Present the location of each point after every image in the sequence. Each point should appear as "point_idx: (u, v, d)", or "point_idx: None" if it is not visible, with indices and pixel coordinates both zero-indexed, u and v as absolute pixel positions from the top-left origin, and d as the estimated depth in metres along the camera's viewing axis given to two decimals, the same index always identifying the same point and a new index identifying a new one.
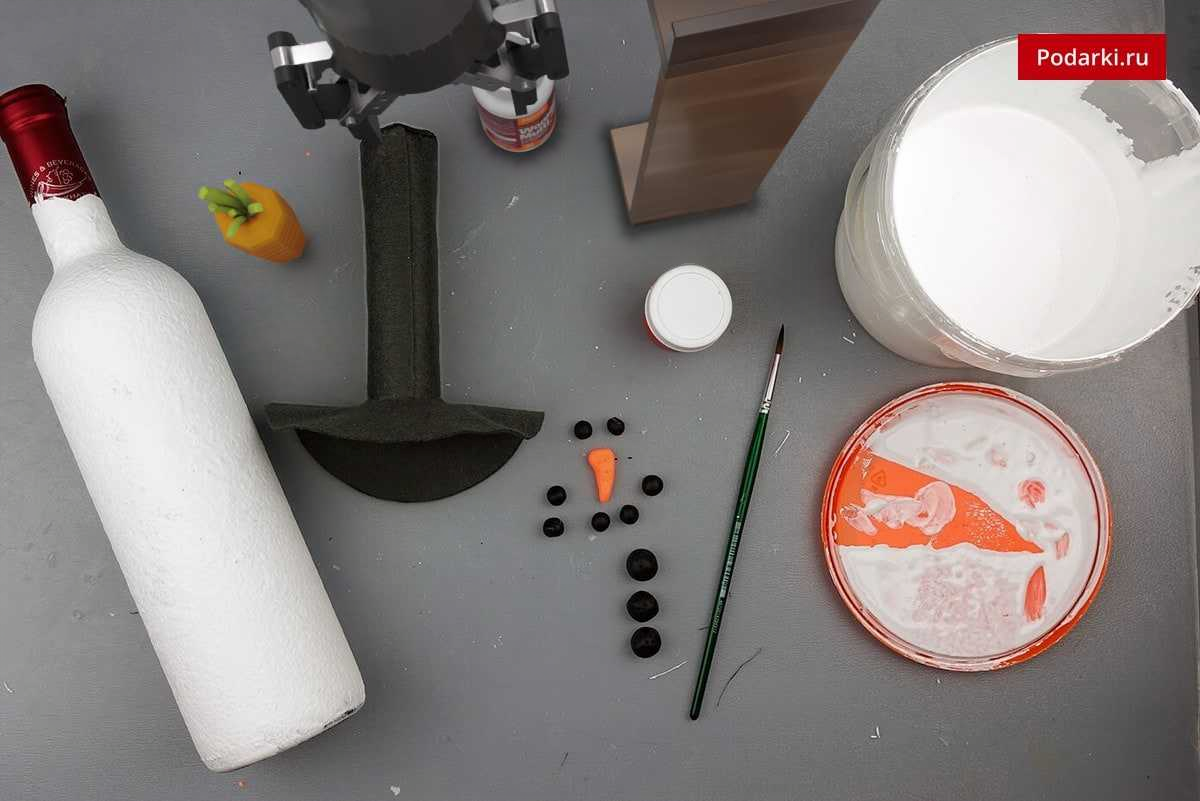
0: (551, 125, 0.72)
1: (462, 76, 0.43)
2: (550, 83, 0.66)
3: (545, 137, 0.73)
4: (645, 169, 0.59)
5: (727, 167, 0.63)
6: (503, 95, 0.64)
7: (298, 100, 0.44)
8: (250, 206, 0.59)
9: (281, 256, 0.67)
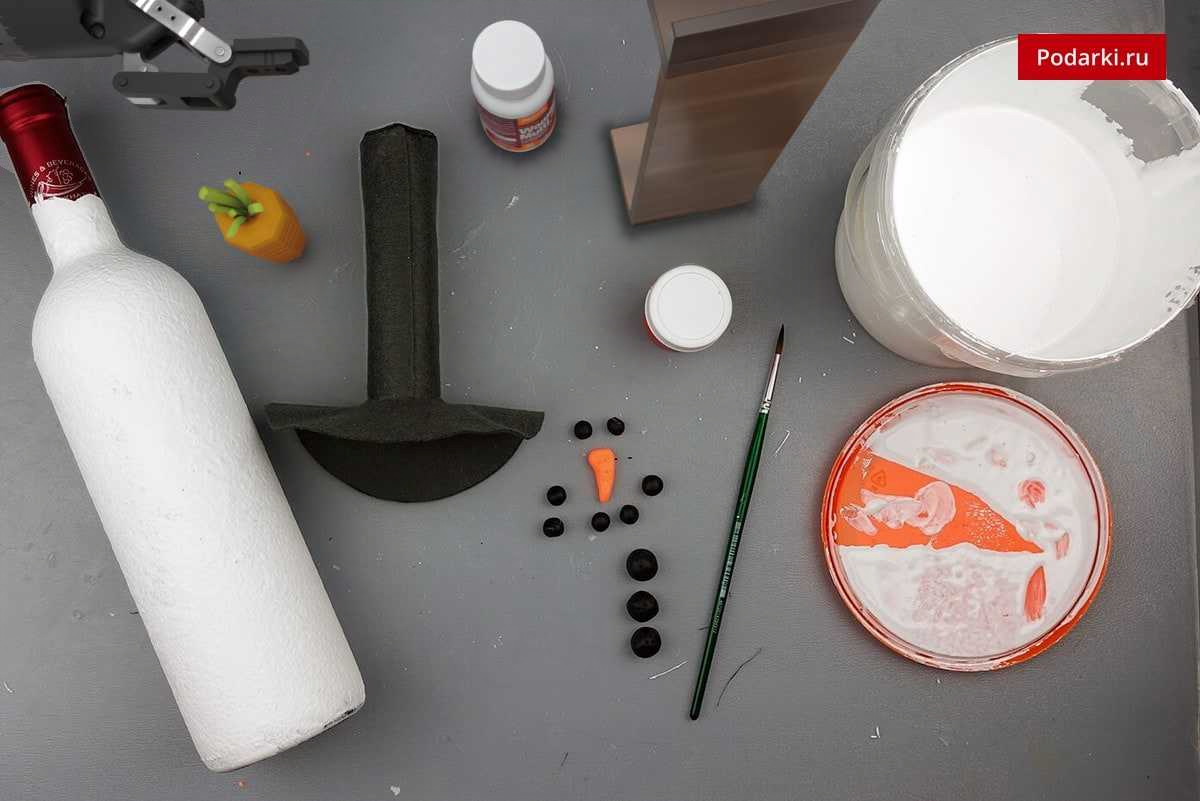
0: (551, 125, 0.72)
1: None
2: (550, 83, 0.66)
3: (545, 137, 0.73)
4: (645, 169, 0.59)
5: (727, 167, 0.63)
6: (503, 95, 0.64)
7: None
8: (250, 206, 0.59)
9: (281, 256, 0.67)
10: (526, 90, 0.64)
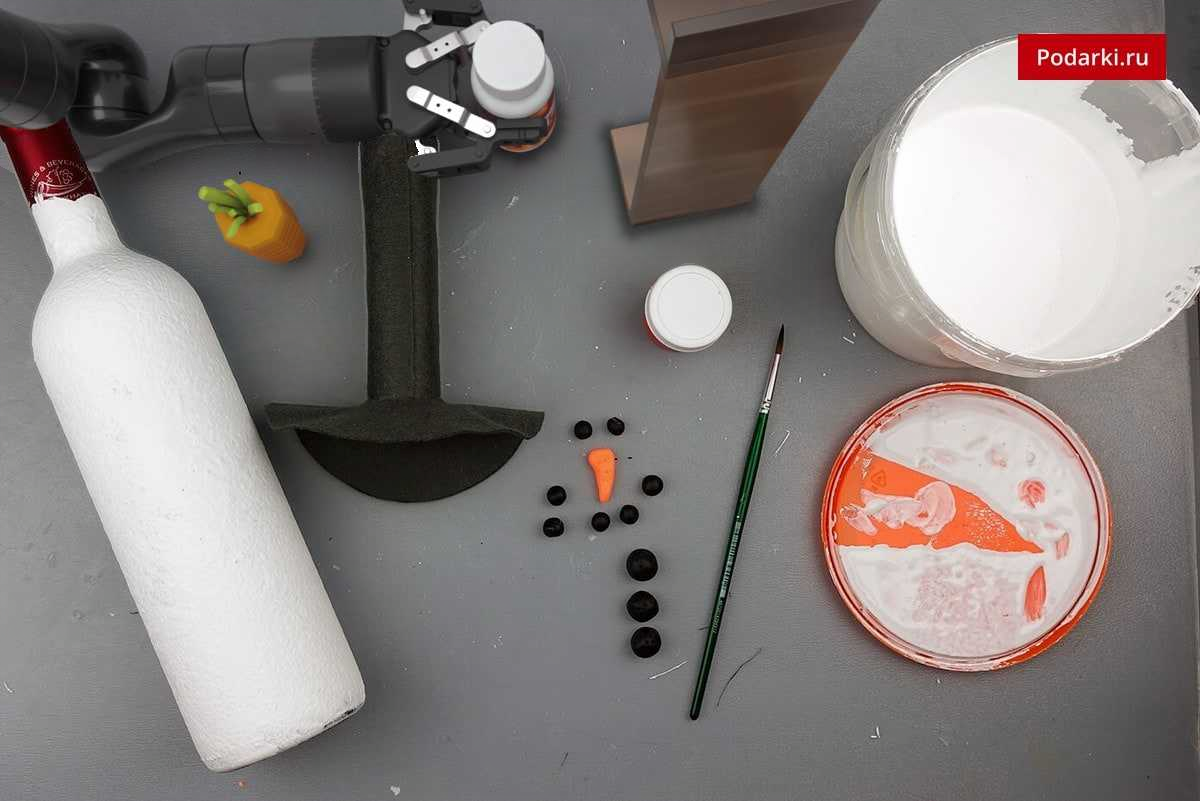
0: (551, 125, 0.72)
1: None
2: (550, 84, 0.66)
3: (545, 137, 0.73)
4: (645, 169, 0.59)
5: (727, 167, 0.63)
6: (503, 95, 0.64)
7: None
8: (250, 206, 0.59)
9: (281, 256, 0.67)
10: (526, 90, 0.64)
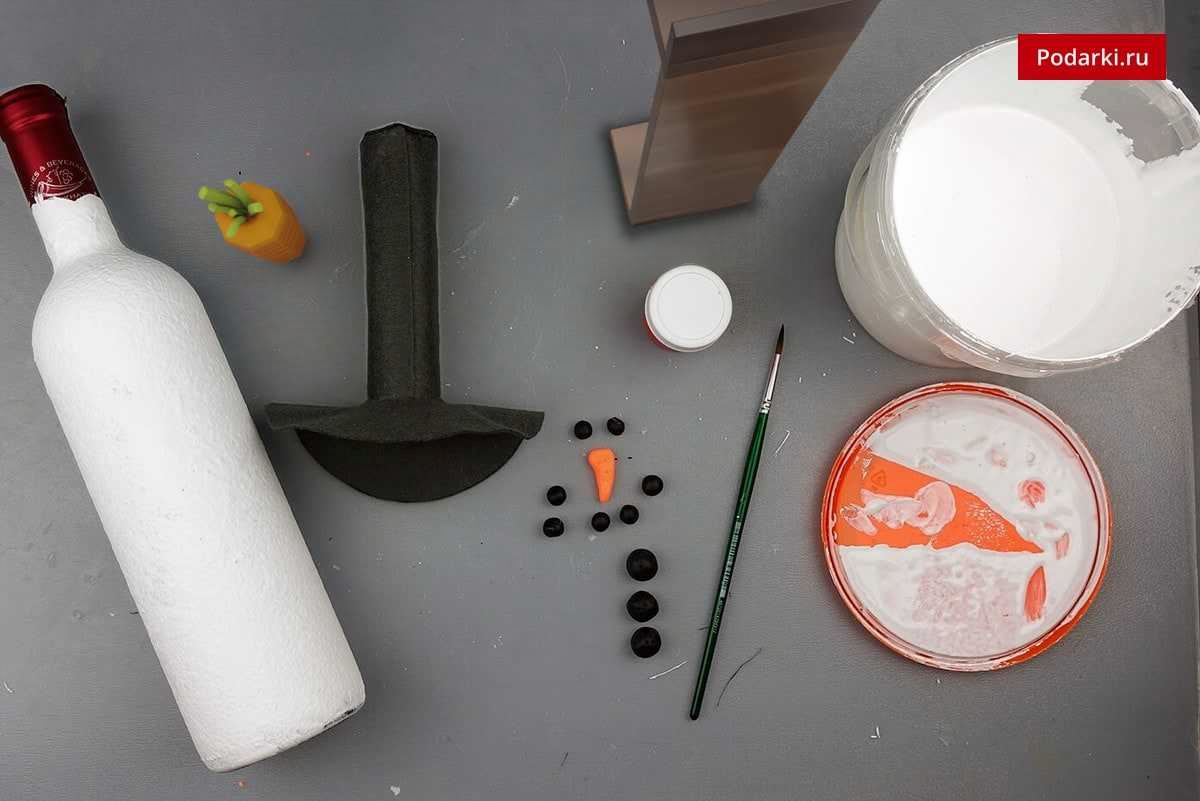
0: None
1: None
2: None
3: None
4: (645, 169, 0.59)
5: (727, 167, 0.63)
6: None
7: None
8: (250, 206, 0.59)
9: (281, 256, 0.67)
10: None
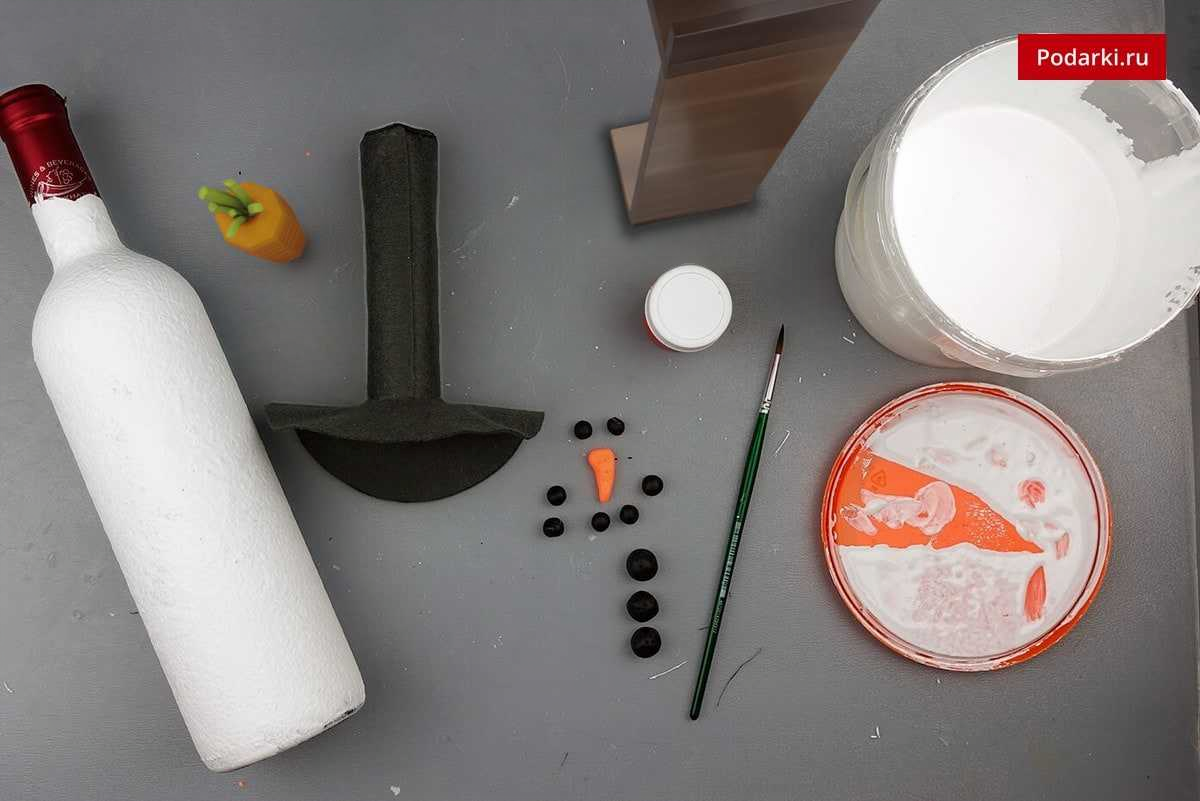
0: None
1: None
2: None
3: None
4: (645, 169, 0.59)
5: (727, 167, 0.63)
6: None
7: None
8: (250, 206, 0.59)
9: (281, 256, 0.67)
10: None
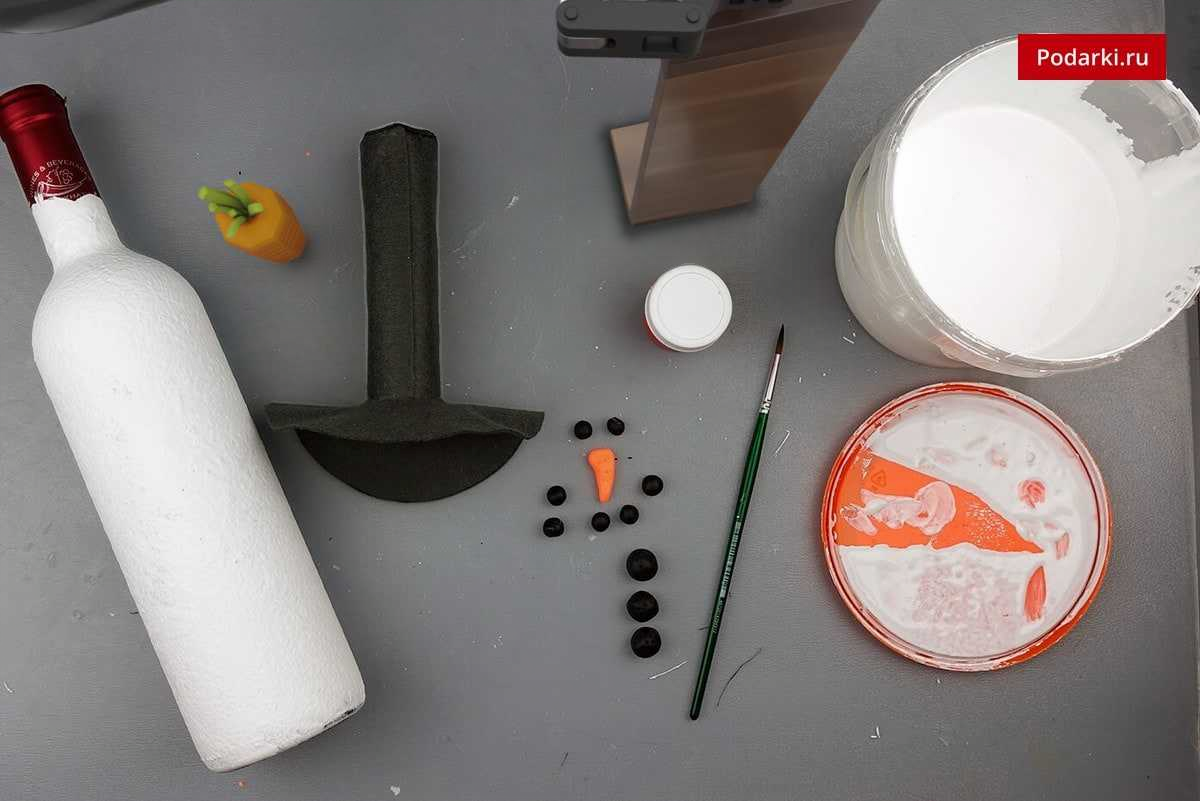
0: None
1: None
2: None
3: None
4: (645, 169, 0.59)
5: (727, 167, 0.63)
6: None
7: None
8: (250, 206, 0.59)
9: (281, 256, 0.67)
10: None
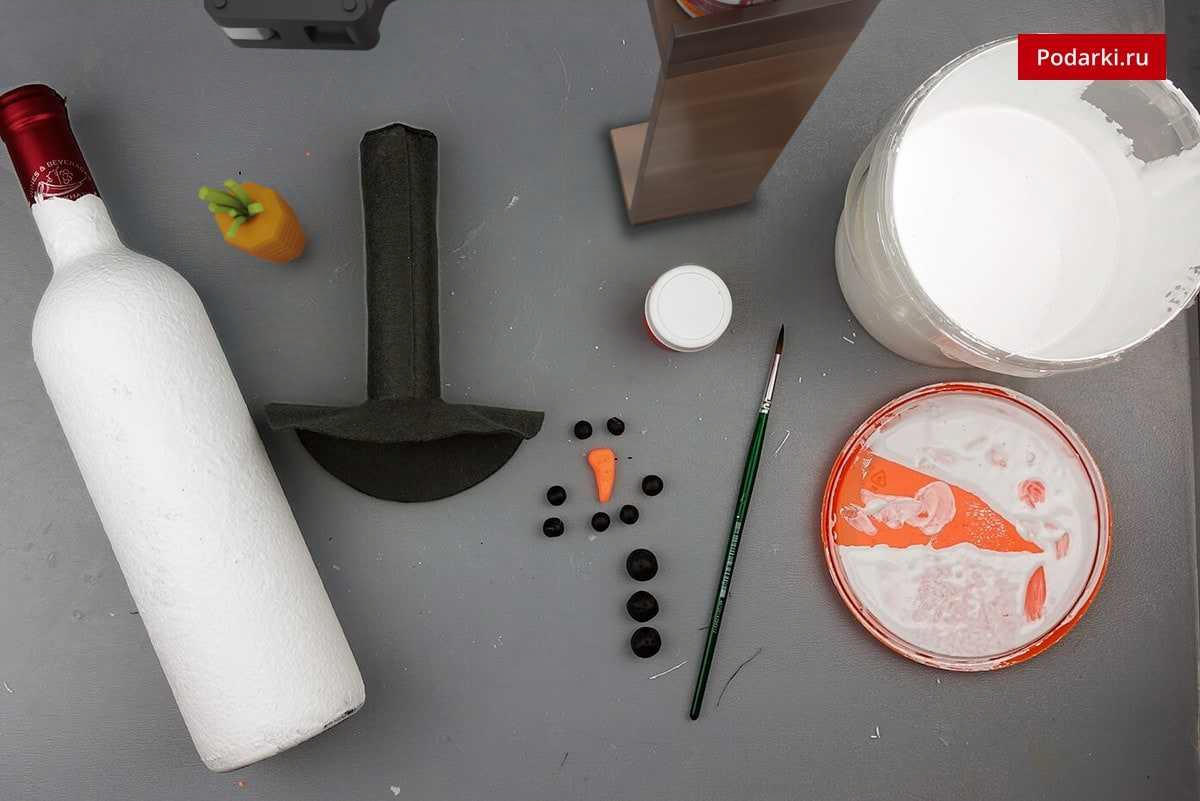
0: None
1: None
2: None
3: None
4: (645, 169, 0.59)
5: (727, 167, 0.63)
6: None
7: None
8: (250, 206, 0.59)
9: (281, 256, 0.67)
10: None
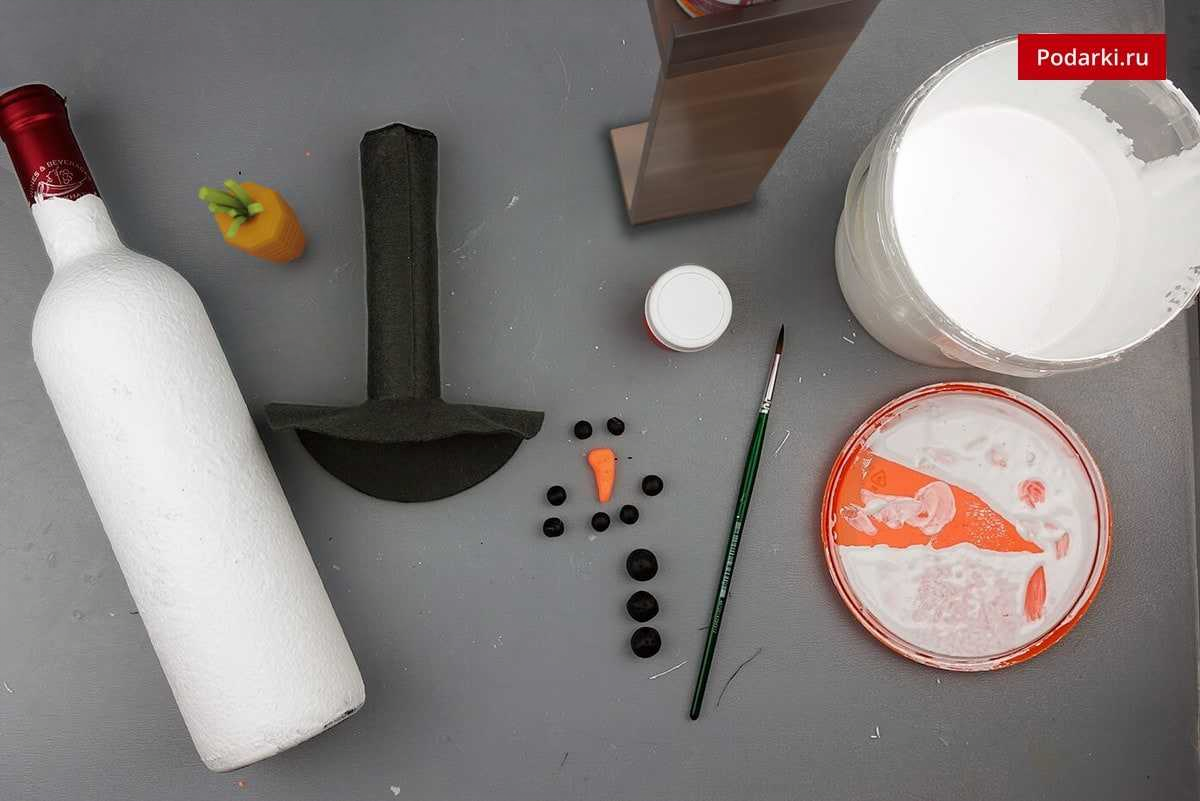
0: None
1: None
2: None
3: None
4: (645, 169, 0.59)
5: (727, 167, 0.63)
6: None
7: None
8: (250, 206, 0.59)
9: (281, 256, 0.67)
10: None
